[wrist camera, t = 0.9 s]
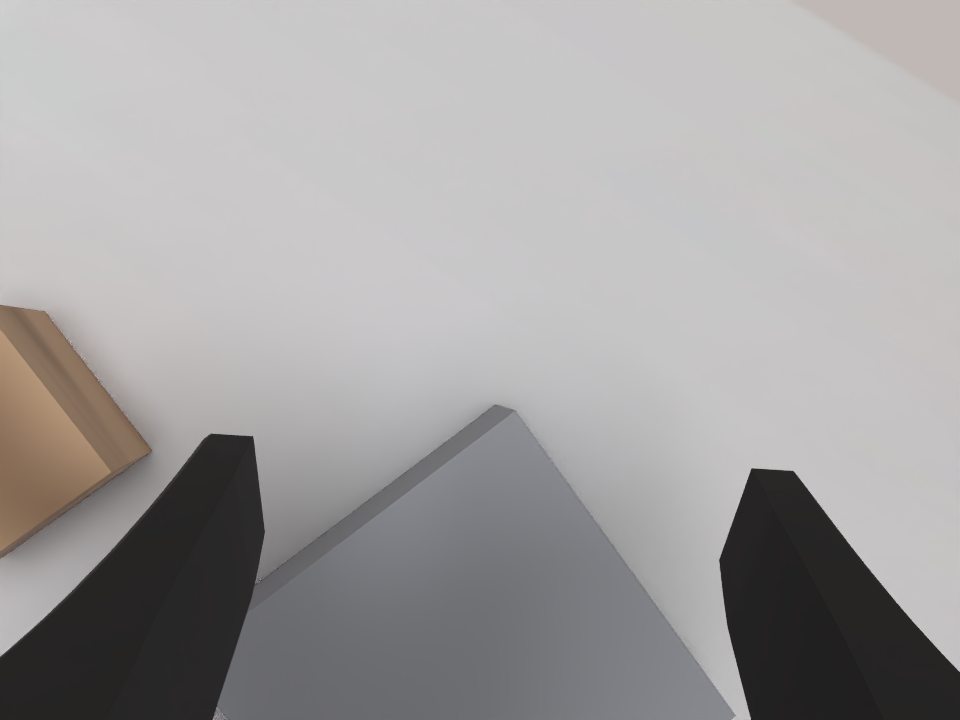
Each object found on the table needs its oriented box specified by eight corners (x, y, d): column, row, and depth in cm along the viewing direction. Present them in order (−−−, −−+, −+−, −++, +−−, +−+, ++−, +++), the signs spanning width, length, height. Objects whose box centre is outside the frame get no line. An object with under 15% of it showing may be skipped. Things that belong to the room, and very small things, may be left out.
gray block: (418, 897, 28) (429, 973, 25) (201, 623, 27) (182, 662, 24) (688, 673, 30) (735, 715, 26) (493, 403, 29) (515, 410, 25)
